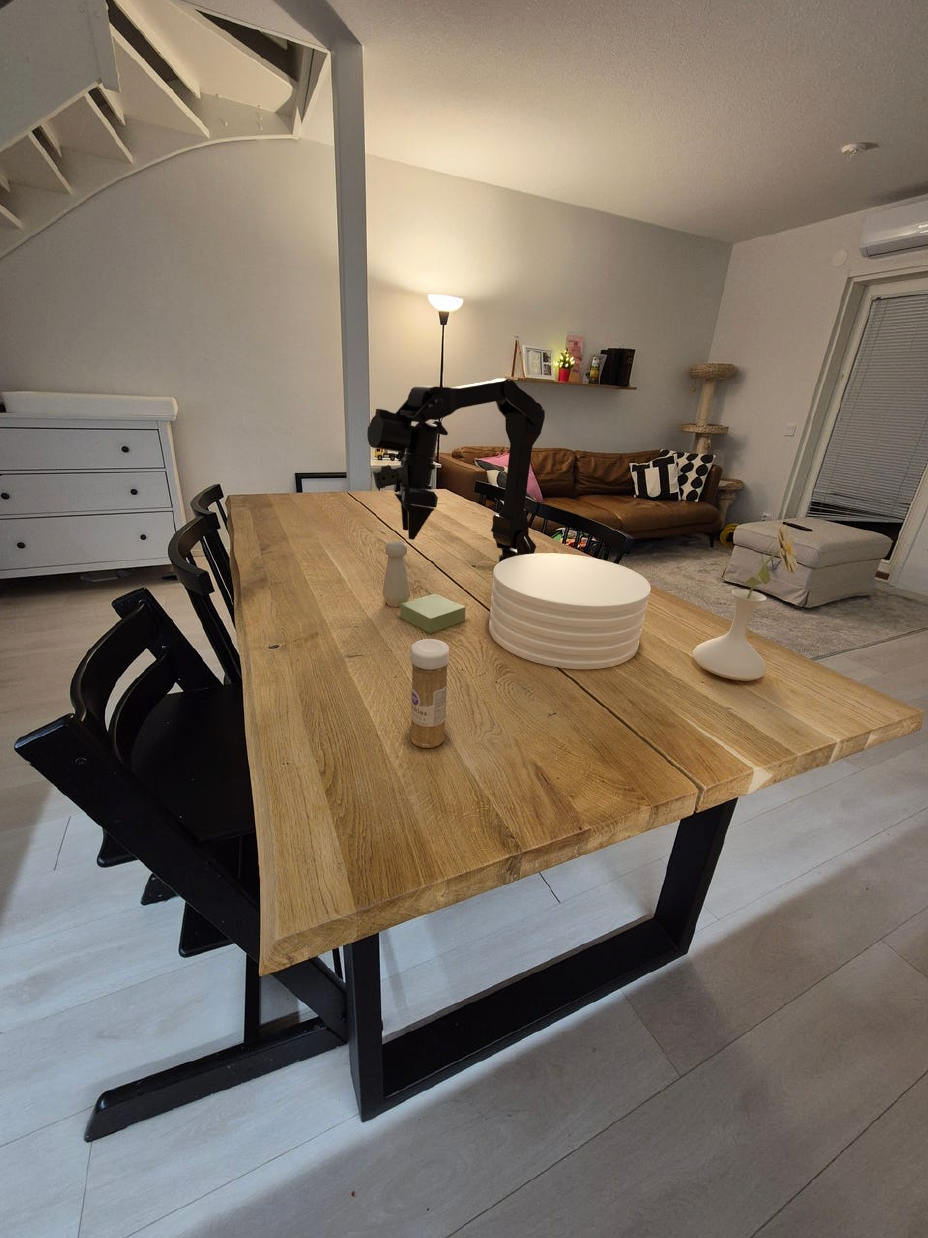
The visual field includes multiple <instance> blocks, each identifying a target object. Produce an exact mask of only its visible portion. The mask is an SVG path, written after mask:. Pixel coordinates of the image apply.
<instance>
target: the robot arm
mask: <svg viewBox="0 0 928 1238" xmlns="http://www.w3.org/2000/svg"><path fill="white" fill-rule="evenodd" d="M494 402H495V404H496V407H497V409H498V411H499V412H500V413H501V415H502V416H503V417H504V420H505V421H504V422H505V425H504V426H505V432H506V435H507V438H508V442H509V453H508V461H507V470H506V479H505V487H504V488H505V489H504V496H503V497H504V498H503V505H502V506H503V507H502V508H501V510H500V512H499V513H498V514H493V516H492V526H491V529H490V532H492V538H493V539H494V541H495V544H496V548H497V549H500V550H501V554H499V555H498V563H499V562H501V561H502V560H505V559H507V558H510V557H514V556H519V555H525V554H535V552H536V549H537V545H536V543H535V542H534V541H533V540H532V538H531V537H530V534H529V533H530V530H529V529H530V524H529V523H530V522H529V520H528V518H527V515H526V512H525V511H526V510H525V508H526V507H525V506H526V499H527V493H528V492H527V490H528V483H529V476H530V467H531V460H532V453H533V446H534V444H535V443H536V441H537V440H538V439H539V437H540V436H541V434H542V430H543V427H544V423H545V419H546V411H545V409H544V408H543V406H542V404H541V403H539V402H537V401H536V400H535V398H533V397H532V396H531V395H530V394H528V393H527V392H526V391H524V390H523V389H521V388H520V387H519V386H518V384H517V383H516V382H515V381H514V380H513V379H512V378H495V379H493V380H488V381H482V382H476V383H469V384H463V385H457V386H452V387H448V386H434V385H433V386H432V385H416V386H413V387H412V388H411V389H410V391H409V393H408V396H407V399H406V400H405V401H404V402H403V404H402V405H401V406H400V407H399V408H398V409H397V410H396V412H391V411H389V410H387V409H383V408H376V409H375V413H374V414H375V415H373V416H372V418H371V420H370V422H369V425H368V426H367V436H366V437H367V442H368V444H369V446H370V448H371V449H378V450H383V451H388V452H389V451H390V452H396V453H402V452H405V453H404V457H402V459H400V464H399V465H395V466H391V465H390V464H387V465H381V466H380V468H379V469H374V470H372V475H373V481H374V483H375V487H376V489H378V490H380V489H385V488H386V487H391V486H393V492H394V496H395V497H396V499H397V500H398V501H399V503H400V511H401V524H402V525H401V526H402V530H403V531H407V532H408V533H407V535H408V537H407V538H408V540H412V541H414V540H415V539H416V537H417V536H418V534H419V533H420V531H421V529H422V528H423V527H424V526H425V523H426V521H427V520H428V518H429V517H430V516H431V514H432V513H433V512H434V511H435V508H437V507H438V500H439V497H438V495H437V494H436V493H435V491H434V490H432V489H433V486H432V485H431V481H432V476H433V471H435V469H436V464H435V463H434V462H435V457H436V455H435V454H436V451H437V450H436V448H437V443H438V436H439V435H442V436H448V435H449V432H448V430H447V429H446V427H444V425H443V422H442V421H440V420H441V419H443V418H446V417H448V416H450V415H452V414H454V413H455V412H456V411H458V410H460V409H463V408H468V407H473V406H480V405H484V404H490V403H494ZM430 420H432V421H433V422H431V423H430V422H428V421H430ZM412 422H413V423H416V424H415V425H412Z"/></svg>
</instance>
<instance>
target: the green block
mask: <svg viewBox="0 0 928 1238" xmlns="http://www.w3.org/2000/svg"><path fill="white" fill-rule="evenodd" d="M466 608H467V607H466V606H465V605H462V604H460V603H457V602H455V601H453V600H450V599H449V598H446V597H444V596H442V595H440V594H437V593H432V594H429V595H425V596H422V597H418V598H415V599H411V600H408V601H407V602H404V603H401V604H400V607H399V618H400V619H402V620H403V621H406V622H408V623H410V624H411V625H412V626H415V627H417V628H419V629H421V630H422V631H425V632H426V633H428V634H432V633H435V632H438V631H441V630H444V629H447V628H449V627H452V626H455V625H458V624H460V623H463V622H465V621H466Z"/></svg>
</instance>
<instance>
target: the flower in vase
mask: <svg viewBox="0 0 928 1238" xmlns="http://www.w3.org/2000/svg"><path fill="white" fill-rule="evenodd" d="M788 531H789V530H788V525H787V524H784V526H783V524H782V523H781V524H780V525H779V526H778V527H777V532H776V535H777V536H776V537H777V540H776V541H777V546H778V549H777V550H776V551H775V552H774V553H773V554H772V555H771V556H770V557H769V558H768V559H766V561H765V562H764V563H763V565H761V567H760V569H759V571H758V573H757V574H756V576H755V577H754V576H751V577H750V578H748V579H747V580H745V581H743V584H746V585H747V586H751V587H750V589H746V588H745V589H744V588H738V589H737V588H736V589H732V590H731V594H732V596H733V599H734V605H735V606H734V614H733V615H734V616H733V620H732V623H731V625H730V629H729V630H728V632H727V633H725V634H723V635H721V636H719V637H715V638H712V639H708V640H705V641H704V642H701V643H700V644H698V645H697V646H696V647H695V648H694V649H693V650H692V657H693V659H694V661H695V663H696V664H697V665H698V666H700V667H701V668H702V669H704V670H705V671H708V672H709V673H712V674H714V675H716V676H719V677H721V678H725V679H729V680H734V681H755V680H756V681H757V680H758V679H760V678H762V677H763V676H765V675H766V674H767V664H766V662H765V660H764V659H763V657H762V656H761V655H760V653H758V652H757V650H756V649H755V648H754V646H752V645H751V644H750V642H749V641H748V639H747V636H746V634H747V629H748V625H749V623H750V620H751V618H752V616H753V614H754V612H755V611H756V609H757V608H758V607H759V606H760V605H761V604H762V603H764V602H766V601H767V596H766V595H764V594H763V593H760V592H758V591H754V589H755V586H758V585H762V584H763V585H768V584H769V583H770V581H771V574H770V571H769V570H768V569H766V568H765V567H766V566H767V565H768V564H769V563H770V562H771V561H772V560H773V559H774V558H775V557H776V556H777V555H778V554H779V557H780V559H781V562H782V564H783V567H784V569H785V571H786V572H788V574H791V575H793V574H794V575H796V569H799V564H798V562H797V560H796V558H795V557H797V556H798V551H797V549H796V548H794V543H793V542H794V537H793V535H792V534H790V535H788V534H789V533H788ZM758 579H760V580H758Z"/></svg>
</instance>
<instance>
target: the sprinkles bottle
mask: <svg viewBox="0 0 928 1238" xmlns="http://www.w3.org/2000/svg"><path fill="white" fill-rule="evenodd" d="M449 661H450V647H449V645H448V644H447V643H445V642H444V641H443V640H439V639H435V638H424V639H419V640H417V641H415V642H413V644H412V645H411V647H410V662H411V665H412V666H411V668H412V669H411V677H412V678H411V690H410V691H411V694H410V696H411V697H410V719H411V721H410V732H409V733H410V734H409V738H410V741H411V742H412V744H413V745H415V746H417V747H419V748H423V749H431V748H432V749H433V748H436V747H438V746H440V745H441V744H442V743H443V742H444V741H445V738H446V736H445V735H446V734H445V722H446V720H445V719H446V711H447V693H448V692H447V689H448V682H447V681H448V680H447V678H448V665H449Z"/></svg>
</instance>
